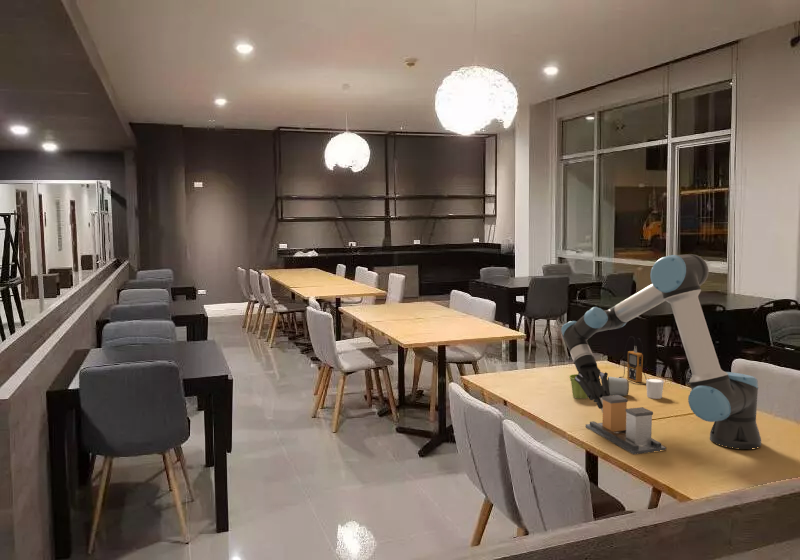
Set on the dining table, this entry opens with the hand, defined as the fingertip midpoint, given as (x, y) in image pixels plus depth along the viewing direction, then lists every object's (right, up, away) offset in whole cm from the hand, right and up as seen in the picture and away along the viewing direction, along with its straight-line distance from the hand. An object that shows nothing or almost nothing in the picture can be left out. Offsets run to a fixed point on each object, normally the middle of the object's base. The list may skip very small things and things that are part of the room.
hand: (608, 415), depth 231 cm
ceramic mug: (+18, -1, +46) cm, 49 cm away
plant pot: (+2, -1, +42) cm, 42 cm away
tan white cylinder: (+32, -1, +41) cm, 52 cm away
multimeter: (+30, +2, +67) cm, 73 cm away
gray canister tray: (+3, -6, -8) cm, 11 cm away
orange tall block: (+1, -4, -3) cm, 5 cm away
